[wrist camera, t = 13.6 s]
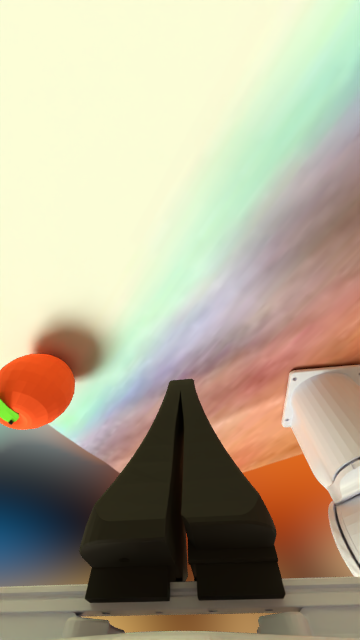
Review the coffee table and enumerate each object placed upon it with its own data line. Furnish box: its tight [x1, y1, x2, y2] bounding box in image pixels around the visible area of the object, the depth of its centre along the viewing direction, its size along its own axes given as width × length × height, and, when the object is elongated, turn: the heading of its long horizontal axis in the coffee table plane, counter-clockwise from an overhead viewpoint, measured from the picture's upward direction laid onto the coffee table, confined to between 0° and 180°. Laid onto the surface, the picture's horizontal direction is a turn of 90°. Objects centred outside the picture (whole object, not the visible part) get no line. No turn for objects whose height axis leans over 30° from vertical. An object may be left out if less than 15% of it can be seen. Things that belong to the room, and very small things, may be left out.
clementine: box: [0, 354, 75, 429], centre depth 21 cm, size 8×7×7 cm
